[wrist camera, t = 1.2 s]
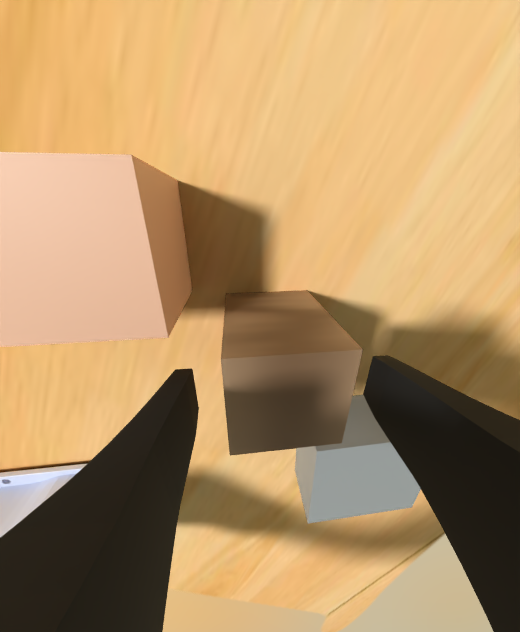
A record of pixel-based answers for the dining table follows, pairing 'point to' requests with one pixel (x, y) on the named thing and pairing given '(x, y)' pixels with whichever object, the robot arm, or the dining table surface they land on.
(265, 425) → the walnut block
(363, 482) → the grey base block
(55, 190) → the terracotta cube
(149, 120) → the dining table surface
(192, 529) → the dining table surface
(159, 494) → the robot arm
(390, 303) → the dining table surface
